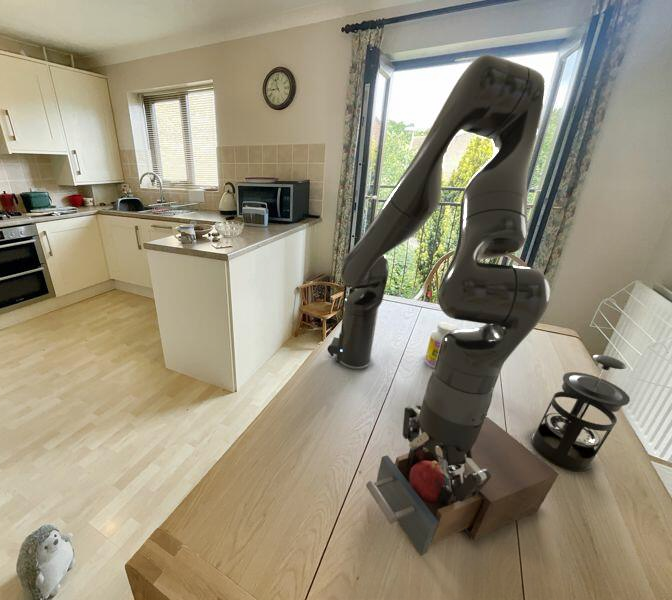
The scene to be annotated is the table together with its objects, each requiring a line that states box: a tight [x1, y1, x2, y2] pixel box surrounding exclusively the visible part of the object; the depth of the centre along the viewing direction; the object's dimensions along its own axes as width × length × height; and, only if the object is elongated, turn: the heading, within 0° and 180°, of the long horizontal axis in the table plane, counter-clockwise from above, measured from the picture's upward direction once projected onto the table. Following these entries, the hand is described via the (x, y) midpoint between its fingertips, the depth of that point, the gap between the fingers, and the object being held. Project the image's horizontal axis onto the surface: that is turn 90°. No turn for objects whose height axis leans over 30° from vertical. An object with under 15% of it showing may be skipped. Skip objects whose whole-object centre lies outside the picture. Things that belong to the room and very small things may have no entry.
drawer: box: [365, 448, 484, 556], centre depth 51 cm, size 18×11×8 cm, turn 108°
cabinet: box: [424, 416, 560, 541], centre depth 55 cm, size 15×13×10 cm
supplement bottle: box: [424, 321, 458, 369], centre depth 89 cm, size 7×7×13 cm
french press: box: [530, 354, 631, 473], centre depth 60 cm, size 12×9×23 cm
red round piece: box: [409, 460, 444, 504], centre depth 50 cm, size 6×6×8 cm
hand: (428, 482), depth 50 cm, fingers closed on red round piece, 6 cm apart
